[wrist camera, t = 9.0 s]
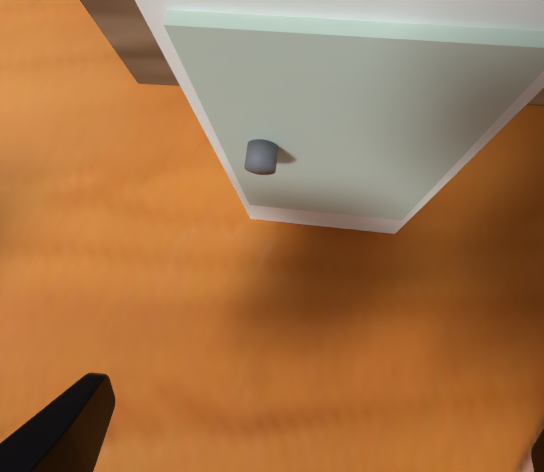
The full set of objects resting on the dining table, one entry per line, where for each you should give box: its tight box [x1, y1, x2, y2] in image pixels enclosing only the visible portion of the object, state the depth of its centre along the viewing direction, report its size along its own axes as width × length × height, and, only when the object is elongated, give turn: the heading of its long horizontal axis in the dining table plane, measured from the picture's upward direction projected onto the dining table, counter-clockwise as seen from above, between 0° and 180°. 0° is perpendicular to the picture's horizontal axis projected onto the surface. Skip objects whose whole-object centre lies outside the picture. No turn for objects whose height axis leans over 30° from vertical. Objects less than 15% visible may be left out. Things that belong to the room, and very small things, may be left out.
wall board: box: [80, 0, 544, 105], centre depth 15 cm, size 3×18×8 cm, turn 84°
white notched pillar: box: [135, 0, 544, 234], centre depth 12 cm, size 6×6×13 cm
